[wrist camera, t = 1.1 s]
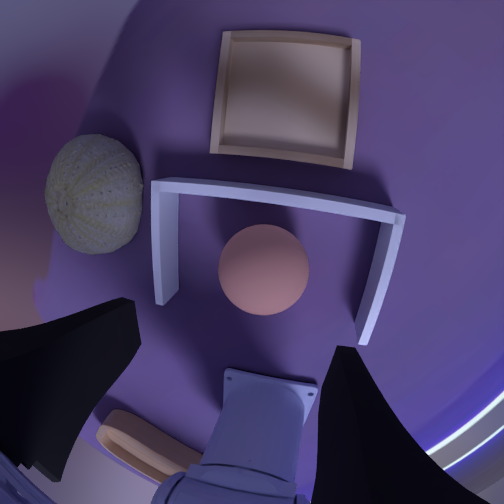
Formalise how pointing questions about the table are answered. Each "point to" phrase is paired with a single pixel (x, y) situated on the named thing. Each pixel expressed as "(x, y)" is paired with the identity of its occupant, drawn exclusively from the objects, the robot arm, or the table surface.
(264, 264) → the ball
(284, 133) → the tray
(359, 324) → the white u-shaped arch
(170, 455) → the lamp
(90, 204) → the sea urchin shell
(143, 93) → the table surface
